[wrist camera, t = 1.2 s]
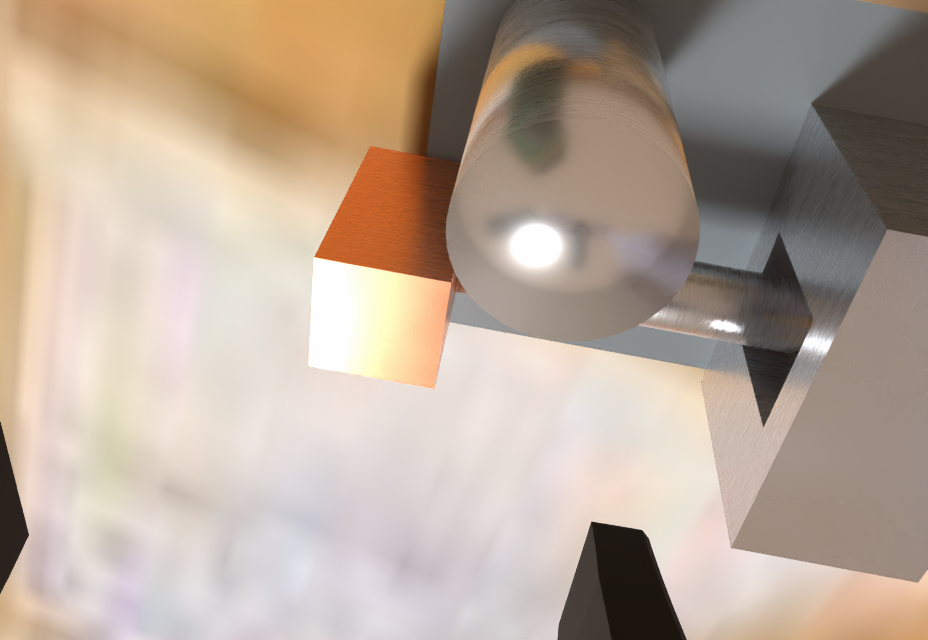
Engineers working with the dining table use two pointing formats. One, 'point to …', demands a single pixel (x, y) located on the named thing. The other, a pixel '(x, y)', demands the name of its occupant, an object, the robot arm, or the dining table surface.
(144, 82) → the dining table surface
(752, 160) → the board
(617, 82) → the peg
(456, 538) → the dining table surface
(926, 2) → the socket
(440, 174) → the orange grey long bar
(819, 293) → the block
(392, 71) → the dining table surface
